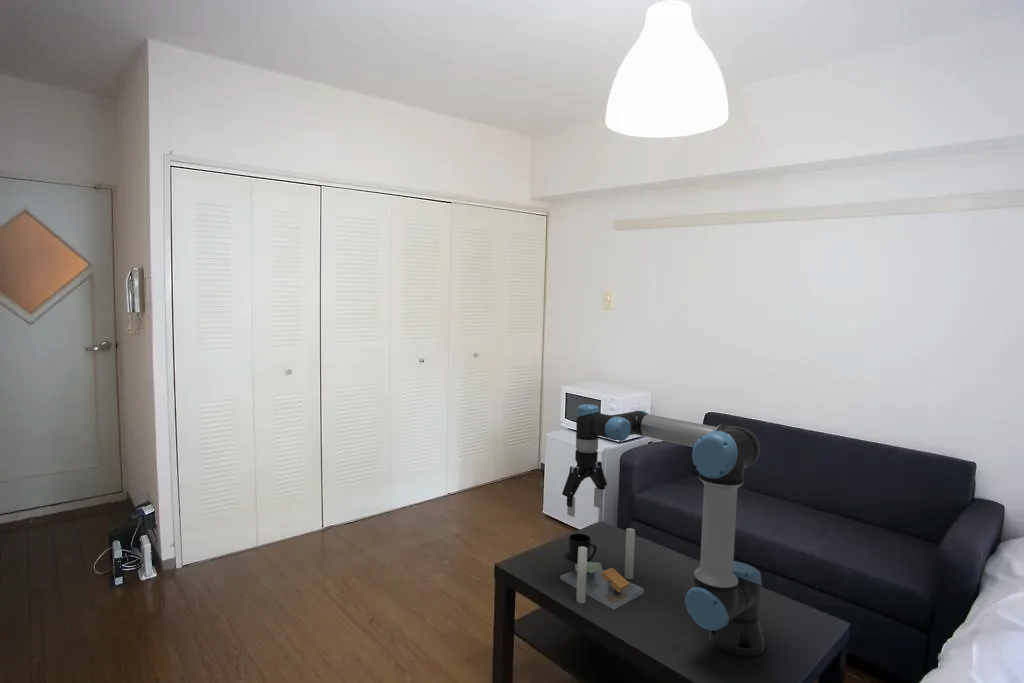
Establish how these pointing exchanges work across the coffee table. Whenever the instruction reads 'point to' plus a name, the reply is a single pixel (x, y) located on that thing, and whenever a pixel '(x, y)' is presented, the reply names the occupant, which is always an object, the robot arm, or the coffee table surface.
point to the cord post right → (629, 553)
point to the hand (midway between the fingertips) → (584, 511)
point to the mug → (578, 541)
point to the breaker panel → (604, 589)
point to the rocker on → (591, 566)
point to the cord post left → (581, 574)
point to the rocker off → (615, 579)
